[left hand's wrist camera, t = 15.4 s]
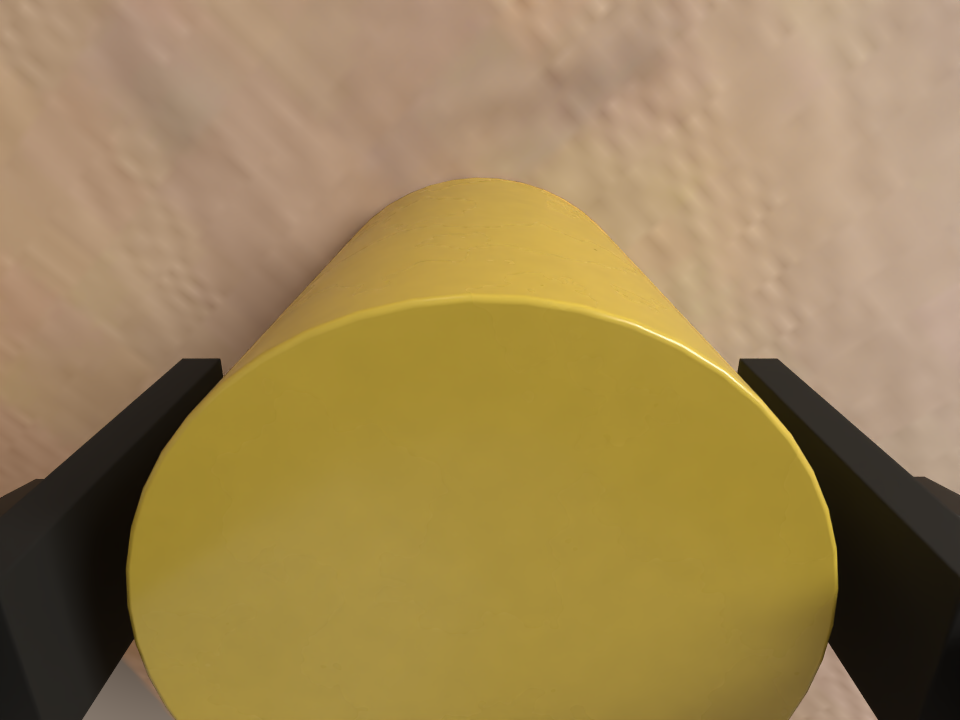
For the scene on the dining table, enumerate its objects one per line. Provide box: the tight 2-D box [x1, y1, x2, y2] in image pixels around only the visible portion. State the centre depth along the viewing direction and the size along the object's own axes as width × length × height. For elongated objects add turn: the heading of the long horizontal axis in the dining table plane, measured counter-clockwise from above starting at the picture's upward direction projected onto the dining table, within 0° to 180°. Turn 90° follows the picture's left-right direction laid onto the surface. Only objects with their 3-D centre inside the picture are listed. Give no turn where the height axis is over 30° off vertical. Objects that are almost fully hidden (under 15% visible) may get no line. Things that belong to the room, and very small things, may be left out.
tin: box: [126, 178, 838, 720], centre depth 13 cm, size 9×9×10 cm
